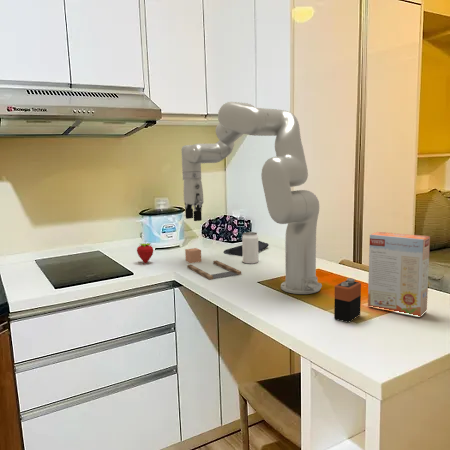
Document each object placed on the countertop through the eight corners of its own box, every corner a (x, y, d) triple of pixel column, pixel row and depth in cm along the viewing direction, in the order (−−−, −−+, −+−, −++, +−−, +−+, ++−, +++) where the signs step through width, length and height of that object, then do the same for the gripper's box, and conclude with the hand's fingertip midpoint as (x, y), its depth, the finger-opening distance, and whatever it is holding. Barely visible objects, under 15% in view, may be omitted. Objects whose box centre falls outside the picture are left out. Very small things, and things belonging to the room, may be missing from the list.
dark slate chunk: (274, 249, 197) (274, 239, 196) (247, 258, 180) (247, 247, 179) (247, 245, 206) (247, 236, 205) (219, 254, 189) (219, 244, 188)
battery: (360, 315, 111) (361, 279, 109) (349, 323, 106) (349, 285, 104) (345, 312, 114) (346, 276, 112) (333, 319, 109) (333, 282, 107)
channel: (241, 274, 153) (241, 271, 153) (209, 279, 147) (209, 276, 147) (216, 263, 171) (216, 260, 170) (187, 267, 165) (187, 264, 164)
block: (201, 261, 174) (201, 250, 174) (190, 263, 172) (189, 251, 171) (196, 259, 179) (196, 247, 178) (185, 260, 176) (185, 249, 176)
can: (258, 260, 174) (258, 231, 172) (258, 264, 168) (257, 234, 166) (243, 260, 175) (242, 231, 173) (242, 264, 168) (241, 234, 166)
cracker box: (427, 312, 111) (431, 235, 108) (420, 319, 107) (423, 239, 104) (375, 301, 121) (377, 230, 117) (366, 307, 116) (369, 233, 113)
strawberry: (144, 260, 179) (143, 237, 177) (157, 262, 174) (156, 239, 173) (134, 263, 174) (132, 239, 172) (147, 265, 170) (145, 241, 168)
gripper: (209, 176, 162) (211, 221, 165) (191, 175, 178) (193, 216, 180) (191, 177, 159) (193, 223, 162) (175, 176, 174) (177, 218, 177)
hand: (193, 219), depth 171 cm, fingers open, 7 cm apart
